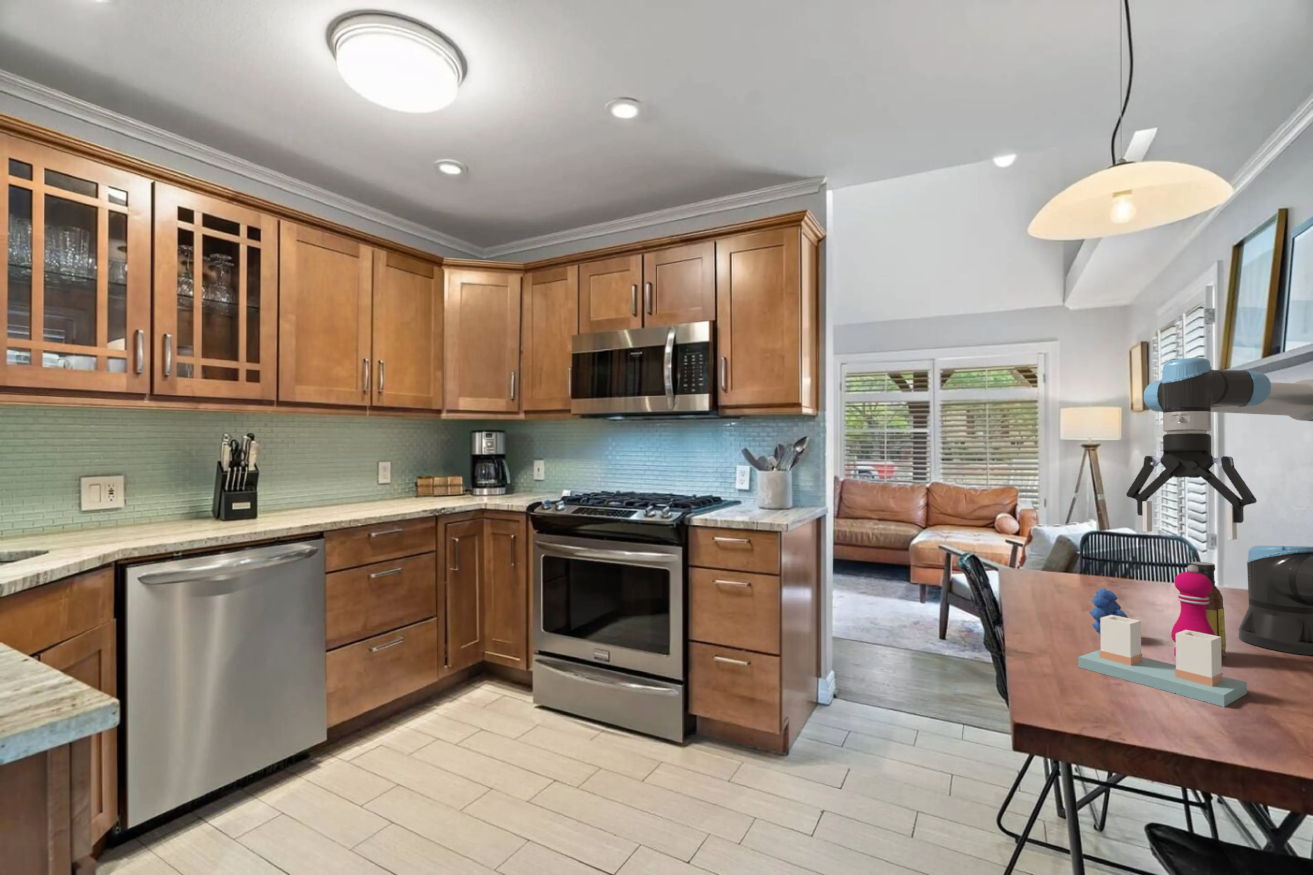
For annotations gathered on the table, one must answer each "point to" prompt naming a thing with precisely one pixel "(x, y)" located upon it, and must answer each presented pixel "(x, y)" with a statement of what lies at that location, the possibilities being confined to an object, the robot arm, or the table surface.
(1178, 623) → the pepper mill
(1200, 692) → the pin board
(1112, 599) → the grapes
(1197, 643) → the seated sleeve
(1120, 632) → the sleeve
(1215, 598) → the sauce bottle
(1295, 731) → the table surface
